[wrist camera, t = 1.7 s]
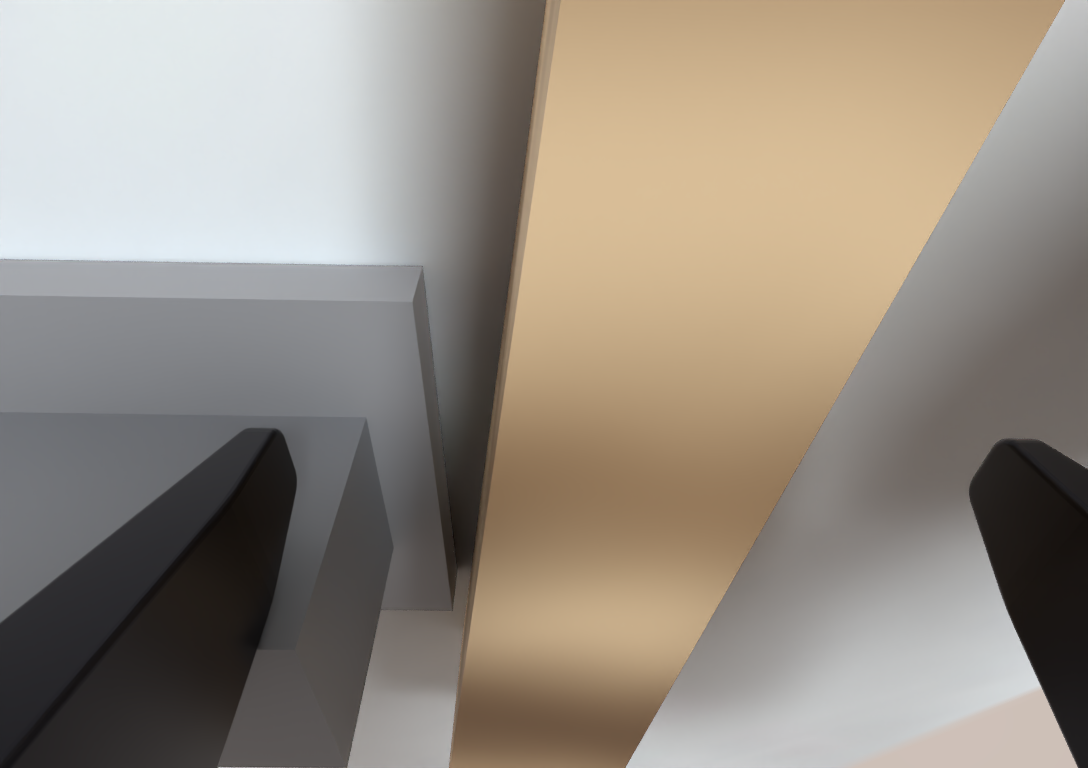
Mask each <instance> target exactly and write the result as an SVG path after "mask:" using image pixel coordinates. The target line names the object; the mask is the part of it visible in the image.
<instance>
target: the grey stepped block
mask: <svg viewBox="0 0 1088 768" xmlns="http://www.w3.org/2000/svg"><path fill="white" fill-rule="evenodd" d="M251 427H252V428H277V429H279V430H281V432H282V433H283V435H284V437H285V439H286V442H287V445H288V448H289V452H290V455H291V458H292V461H293V464H294V467H295V470H296V474H297V490H296V495H295V500H294V505H293V510H292V514H291V519H290V524H289V529H288V533H287V538H286V543H285V548H284V553H283V557H282V562H281V567H280V572H279V576H278V581H277V585H276V590H275V594H274V598H273V602H272V605H271V608H270V612H269V615H268V618H267V621H266V624H265V627H264V630H263V633H262V636H261V639H260V642H259V645H258V648H257V651H256V654H255V657H254V660H253V663H252V666H251V669H250V672H249V675H248V678H247V681H246V684H245V687H244V690H243V693H242V696H241V699H240V702H239V705H238V708H237V711H236V714H235V717H234V720H233V723H232V726H231V729H230V732H229V735H228V738H227V741H226V744H225V747H224V750H223V753H222V756H221V759H220V762H219V765H218V767H299V768H347V765H348V760H349V756H350V751H351V746H352V741H353V737H354V732H355V727H356V723H357V718H358V713H359V708H360V704H361V699H362V694H363V690H364V685H365V680H366V676H367V671H368V666H369V661H370V657H371V652H372V647H373V643H374V638H375V633H376V629H377V624H378V619H379V614H380V610H447V611H453V602H454V594H455V586H456V577H457V565H456V556H455V548H454V539H453V530H452V521H451V513H450V504H449V495H448V486H447V477H446V469H445V460H444V451H443V442H442V433H441V425H440V416H439V407H438V398H437V390H436V381H435V372H434V363H433V354H432V346H431V337H430V328H429V319H428V310H427V302H426V293H425V284H424V275H423V267H422V266H376V265H316V264H256V263H196V262H136V261H75V260H15V259H0V622H1V621H2V620H4V619H5V618H6V617H7V616H9V615H10V614H11V613H12V612H14V611H15V610H16V609H17V608H19V607H20V606H21V605H22V604H24V603H25V602H26V601H28V600H29V599H30V598H31V597H33V596H34V595H35V594H36V593H38V592H39V591H40V590H41V589H43V588H44V587H45V586H46V585H48V584H49V583H50V582H51V581H53V580H54V579H55V578H57V577H58V576H59V575H60V574H62V573H63V572H64V571H65V570H67V569H68V568H69V567H70V566H72V565H73V564H74V563H75V562H77V561H78V560H79V559H80V558H82V557H83V556H84V555H86V554H87V553H88V552H89V551H91V550H92V549H93V548H94V547H96V546H97V545H98V544H99V543H101V542H102V541H103V540H104V539H106V538H107V537H108V536H109V535H111V534H112V533H113V532H115V531H116V530H117V529H118V528H120V527H121V526H122V525H123V524H125V523H126V522H127V521H128V520H130V519H131V518H132V517H133V516H135V515H136V514H137V513H138V512H140V511H141V510H142V509H144V508H145V507H146V506H147V505H149V504H150V503H151V502H152V501H154V500H155V499H156V498H157V497H159V496H160V495H161V494H162V493H164V492H165V491H166V490H167V489H169V488H170V487H171V486H173V485H174V484H175V483H176V482H178V481H179V480H180V479H181V478H183V477H184V476H185V475H186V474H188V473H189V472H190V471H191V470H193V469H194V468H195V467H196V466H198V465H199V464H200V463H201V462H203V461H204V460H205V459H207V458H208V457H209V456H210V455H212V454H213V453H214V452H215V451H217V450H218V449H219V448H220V447H222V446H223V445H224V444H225V443H227V442H228V441H229V440H230V439H232V438H233V437H234V436H236V435H237V434H238V433H239V432H241V431H242V430H244V429H246V428H251Z"/></svg>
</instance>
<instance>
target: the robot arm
mask: <svg viewBox="0 0 1088 768" xmlns="http://www.w3.org/2000/svg"><path fill="white" fill-rule="evenodd" d="M296 490H297V474H296V470H295V467H294V464H293V461H292V458H291V455H290V452H289V448H288V445H287V442H286V439H285V437H284V435H283V433H282V432H281V430H279V429H277V428H252V427H251V428H246V429H244V430H242V431H241V432H239V433H238V434H237V435H236V436H234V437H233V438H232V439H230V440H229V441H228V442H227V443H225V444H224V445H223V446H222V447H220V448H219V449H218V450H217V451H215V452H214V453H213V454H212V455H210V456H209V457H208V458H207V459H205V460H204V461H203V462H201V463H200V464H199V465H198V466H196V467H195V468H194V469H193V470H191V471H190V472H189V473H188V474H186V475H185V476H184V477H183V478H181V479H180V480H179V481H178V482H176V483H175V484H174V485H173V486H171V487H170V488H169V489H167V490H166V491H165V492H164V493H162V494H161V495H160V496H159V497H157V498H156V499H155V500H154V501H152V502H151V503H150V504H149V505H147V506H146V507H145V508H144V509H142V510H141V511H140V512H138V513H137V514H136V515H135V516H133V517H132V518H131V519H130V520H128V521H127V522H126V523H125V524H123V525H122V526H121V527H120V528H118V529H117V530H116V531H115V532H113V533H112V534H111V535H109V536H108V537H107V538H106V539H104V540H103V541H102V542H101V543H99V544H98V545H97V546H96V547H94V548H93V549H92V550H91V551H89V552H88V553H87V554H86V555H84V556H83V557H82V558H80V559H79V560H78V561H77V562H75V563H74V564H73V565H72V566H70V567H69V568H68V569H67V570H65V571H64V572H63V573H62V574H60V575H59V576H58V577H57V578H55V579H54V580H53V581H51V582H50V583H49V584H48V585H46V586H45V587H44V588H43V589H41V590H40V591H39V592H38V593H36V594H35V595H34V596H33V597H31V598H30V599H29V600H28V601H26V602H25V603H24V604H22V605H21V606H20V607H19V608H17V609H16V610H15V611H14V612H12V613H11V614H10V615H9V616H7V617H6V618H5V619H4V620H2V621H1V622H0V768H218V765H219V762H220V759H221V756H222V753H223V750H224V747H225V744H226V741H227V738H228V735H229V732H230V729H231V726H232V723H233V720H234V717H235V714H236V711H237V708H238V705H239V702H240V699H241V696H242V693H243V690H244V687H245V684H246V681H247V678H248V675H249V672H250V669H251V666H252V663H253V660H254V657H255V654H256V651H257V648H258V645H259V642H260V639H261V636H262V633H263V630H264V627H265V624H266V621H267V618H268V615H269V612H270V608H271V605H272V602H273V598H274V594H275V590H276V585H277V581H278V576H279V572H280V567H281V562H282V557H283V553H284V548H285V543H286V538H287V533H288V529H289V524H290V519H291V514H292V510H293V505H294V500H295V495H296ZM969 496H970V502H971V505H972V508H973V511H974V514H975V517H976V520H977V523H978V526H979V529H980V532H981V535H982V538H983V541H984V544H985V547H986V550H987V553H988V556H989V559H990V562H991V565H992V568H993V571H994V574H995V577H996V580H997V583H998V586H999V589H1000V592H1001V595H1002V598H1003V601H1004V603H1005V606H1006V609H1007V611H1008V614H1009V616H1010V618H1011V621H1012V623H1013V625H1014V628H1015V630H1016V632H1017V634H1018V637H1019V639H1020V641H1021V643H1022V645H1023V648H1024V650H1025V652H1026V654H1027V656H1028V659H1029V661H1030V663H1031V665H1032V667H1033V670H1034V672H1035V674H1036V676H1037V678H1038V681H1039V683H1040V685H1041V687H1042V689H1043V692H1044V694H1045V696H1046V698H1047V700H1048V702H1049V705H1050V707H1051V709H1052V711H1053V714H1054V716H1055V718H1056V720H1057V723H1058V725H1059V727H1060V729H1061V731H1062V734H1063V736H1064V738H1065V740H1066V742H1067V745H1068V747H1069V749H1070V751H1071V753H1072V756H1073V758H1074V760H1075V762H1076V764H1077V767H1078V768H1088V469H1086V468H1085V467H1083V466H1082V465H1080V464H1078V463H1077V462H1075V461H1073V460H1072V459H1070V458H1068V457H1067V456H1065V455H1063V454H1062V453H1060V452H1058V451H1057V450H1055V449H1053V448H1052V447H1050V446H1048V445H1047V444H1045V443H1043V442H1041V441H1039V440H1035V439H1012V438H1008V439H1002V440H1000V441H999V442H997V443H996V444H995V445H994V446H993V447H992V449H991V451H990V452H989V454H988V455H987V457H986V458H985V460H984V461H983V463H982V465H981V466H980V468H979V469H978V471H977V472H976V474H975V475H974V477H973V479H972V481H971V483H970V487H969Z"/></svg>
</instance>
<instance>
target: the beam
mask: <svg viewBox="0 0 1088 768" xmlns="http://www.w3.org/2000/svg"><path fill="white" fill-rule="evenodd" d="M1064 2H1065V0H546V6H545V14H544V21H543V29H542V36H541V44H540V52H539V59H538V67H537V74H536V82H535V89H534V97H533V105H532V112H531V120H530V127H529V135H528V142H527V150H526V158H525V165H524V173H523V180H522V188H521V195H520V203H519V211H518V218H517V226H516V233H515V241H514V248H513V256H512V264H511V271H510V279H509V286H508V294H507V301H506V309H505V317H504V324H503V332H502V339H501V347H500V354H499V362H498V370H497V377H496V385H495V392H494V400H493V407H492V415H491V423H490V430H489V438H488V445H487V453H486V460H485V468H484V476H483V483H482V491H481V498H480V506H479V513H478V521H477V529H476V536H475V544H474V551H473V559H472V566H471V574H470V582H469V589H468V597H467V604H466V612H465V619H464V627H463V636H462V645H461V655H460V665H459V675H458V685H457V694H456V704H455V714H454V724H453V733H452V743H451V753H450V763H449V768H625V767H626V765H627V764H628V762H629V760H630V758H631V757H632V755H633V753H634V751H635V750H636V748H637V746H638V744H639V743H640V741H641V739H642V737H643V736H644V734H645V732H646V730H647V729H648V727H649V725H650V723H651V722H652V720H653V718H654V717H655V715H656V713H657V711H658V710H659V708H660V706H661V704H662V703H663V701H664V699H665V697H666V696H667V694H668V692H669V690H670V689H671V687H672V685H673V683H674V682H675V680H676V678H677V676H678V675H679V673H680V671H681V669H682V668H683V666H684V664H685V662H686V661H687V659H688V657H689V655H690V654H691V652H692V650H693V649H694V647H695V645H696V643H697V642H698V640H699V638H700V636H701V635H702V633H703V631H704V629H705V628H706V626H707V624H708V622H709V621H710V619H711V617H712V615H713V614H714V612H715V610H716V608H717V607H718V605H719V603H720V601H721V600H722V598H723V596H724V594H725V593H726V591H727V589H728V587H729V586H730V584H731V582H732V580H733V579H734V577H735V575H736V574H737V572H738V570H739V568H740V567H741V565H742V563H743V561H744V560H745V558H746V556H747V554H748V553H749V551H750V549H751V547H752V546H753V544H754V542H755V540H756V539H757V537H758V535H759V533H760V532H761V530H762V528H763V526H764V525H765V523H766V521H767V519H768V518H769V516H770V514H771V512H772V511H773V509H774V507H775V506H776V504H777V502H778V500H779V499H780V497H781V495H782V493H783V492H784V490H785V488H786V486H787V485H788V483H789V481H790V479H791V478H792V476H793V474H794V472H795V471H796V469H797V467H798V465H799V464H800V462H801V460H802V458H803V457H804V455H805V453H806V451H807V450H808V448H809V446H810V444H811V443H812V441H813V439H814V437H815V436H816V434H817V432H818V431H819V429H820V427H821V425H822V424H823V422H824V420H825V418H826V417H827V415H828V413H829V411H830V410H831V408H832V406H833V404H834V403H835V401H836V399H837V397H838V396H839V394H840V392H841V390H842V389H843V387H844V385H845V383H846V382H847V380H848V378H849V376H850V375H851V373H852V371H853V369H854V368H855V366H856V364H857V363H858V361H859V359H860V357H861V356H862V354H863V352H864V350H865V349H866V347H867V345H868V343H869V342H870V340H871V338H872V336H873V335H874V333H875V331H876V329H877V328H878V326H879V324H880V322H881V321H882V319H883V317H884V315H885V314H886V312H887V310H888V308H889V307H890V305H891V303H892V301H893V300H894V298H895V296H896V294H897V293H898V291H899V289H900V288H901V286H902V284H903V282H904V281H905V279H906V277H907V275H908V274H909V272H910V270H911V268H912V267H913V265H914V263H915V261H916V260H917V258H918V256H919V254H920V253H921V251H922V249H923V247H924V246H925V244H926V242H927V240H928V239H929V237H930V235H931V233H932V232H933V230H934V228H935V226H936V225H937V223H938V221H939V220H940V218H941V216H942V214H943V213H944V211H945V209H946V207H947V206H948V204H949V202H950V200H951V199H952V197H953V195H954V193H955V192H956V190H957V188H958V186H959V185H960V183H961V181H962V179H963V178H964V176H965V174H966V172H967V171H968V169H969V167H970V165H971V164H972V162H973V160H974V158H975V157H976V155H977V153H978V151H979V150H980V148H981V146H982V145H983V143H984V141H985V139H986V138H987V136H988V134H989V132H990V131H991V129H992V127H993V125H994V124H995V122H996V120H997V118H998V117H999V115H1000V113H1001V111H1002V110H1003V108H1004V106H1005V104H1006V103H1007V101H1008V99H1009V97H1010V96H1011V94H1012V92H1013V90H1014V89H1015V87H1016V85H1017V83H1018V82H1019V80H1020V78H1021V77H1022V75H1023V73H1024V71H1025V70H1026V68H1027V66H1028V64H1029V63H1030V61H1031V59H1032V57H1033V56H1034V54H1035V52H1036V50H1037V49H1038V47H1039V45H1040V43H1041V42H1042V40H1043V38H1044V36H1045V35H1046V33H1047V31H1048V29H1049V28H1050V26H1051V24H1052V22H1053V21H1054V19H1055V17H1056V15H1057V14H1058V12H1059V10H1060V8H1061V7H1062V5H1063V3H1064Z"/></svg>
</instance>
